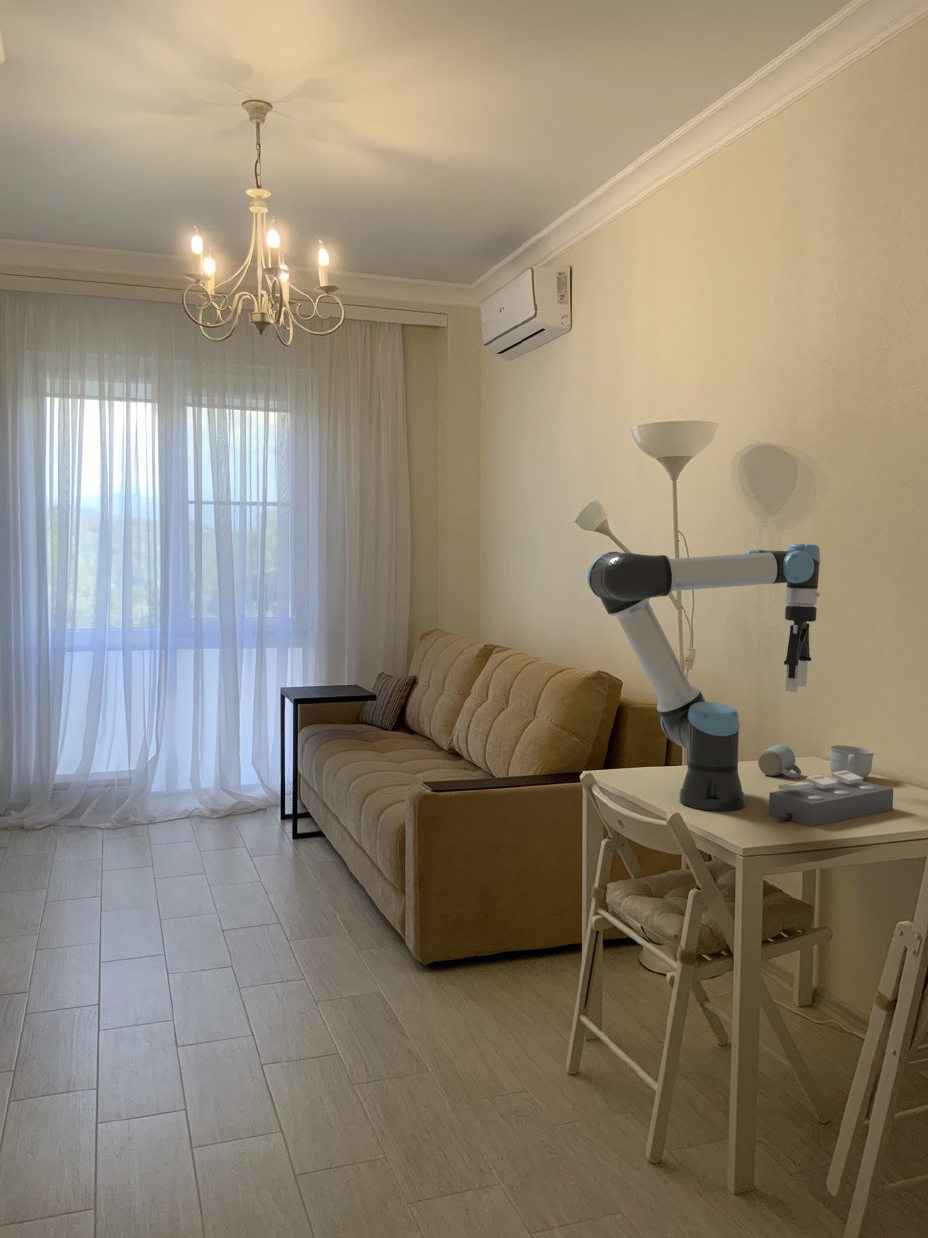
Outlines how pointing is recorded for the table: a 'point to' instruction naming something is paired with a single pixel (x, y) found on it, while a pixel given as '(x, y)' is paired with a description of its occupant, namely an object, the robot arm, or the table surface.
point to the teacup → (851, 760)
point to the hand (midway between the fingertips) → (796, 688)
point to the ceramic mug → (778, 762)
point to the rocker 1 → (794, 786)
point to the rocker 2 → (821, 781)
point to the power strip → (830, 803)
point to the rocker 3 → (847, 777)
